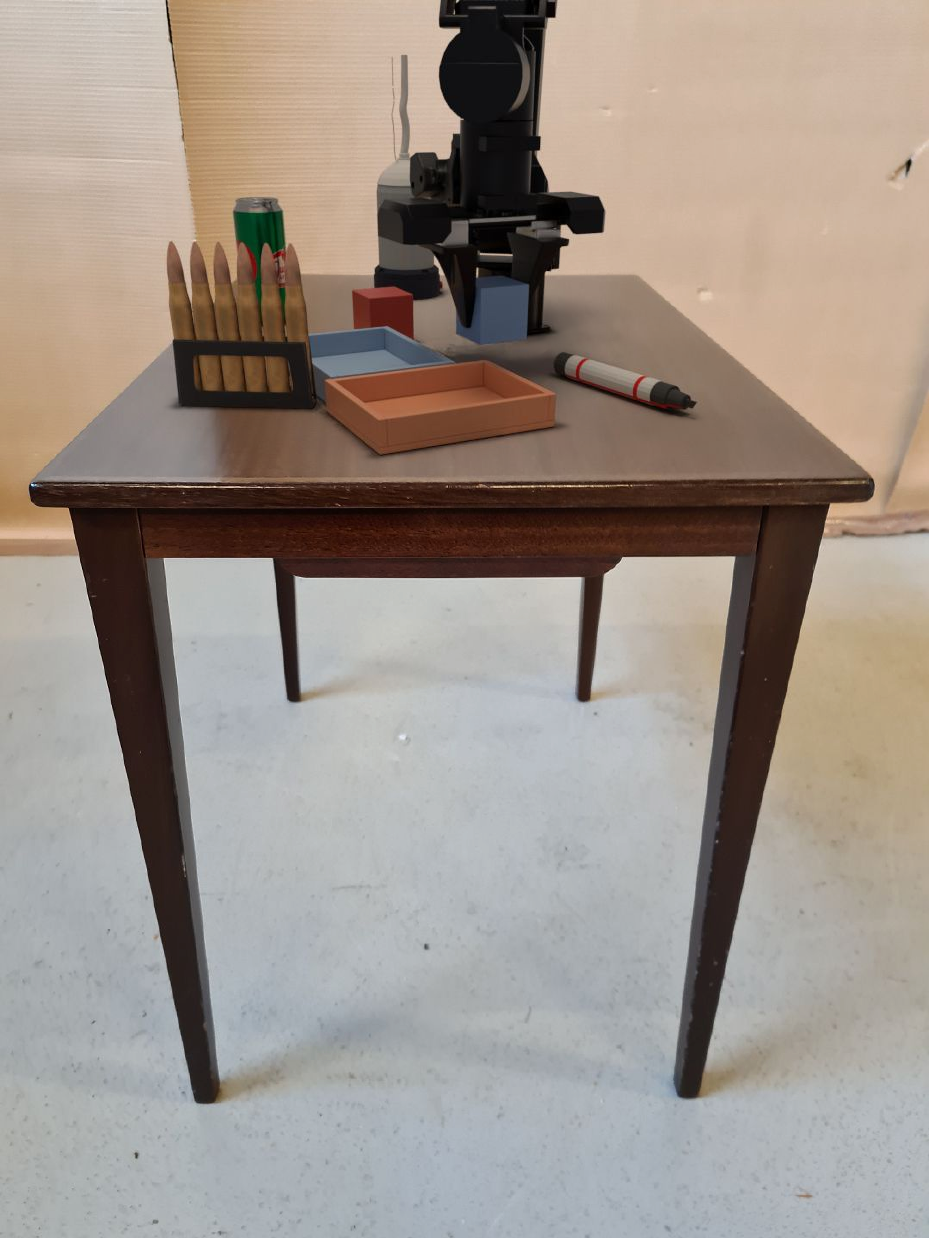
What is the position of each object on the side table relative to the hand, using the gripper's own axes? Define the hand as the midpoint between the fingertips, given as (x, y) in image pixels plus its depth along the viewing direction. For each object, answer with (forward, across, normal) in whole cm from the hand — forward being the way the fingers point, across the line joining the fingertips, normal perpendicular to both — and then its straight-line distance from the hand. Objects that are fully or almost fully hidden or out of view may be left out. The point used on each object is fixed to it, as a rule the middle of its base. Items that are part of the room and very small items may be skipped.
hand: (491, 324), depth 78 cm
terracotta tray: (+4, +10, +10) cm, 15 cm away
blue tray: (+4, +11, -3) cm, 12 cm away
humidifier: (+4, -8, -36) cm, 37 cm away
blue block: (+1, 0, 0) cm, 1 cm away
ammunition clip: (+4, +22, 0) cm, 22 cm away
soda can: (+4, +12, -28) cm, 31 cm away
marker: (+4, -7, +11) cm, 13 cm away
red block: (+4, +4, -15) cm, 16 cm away
